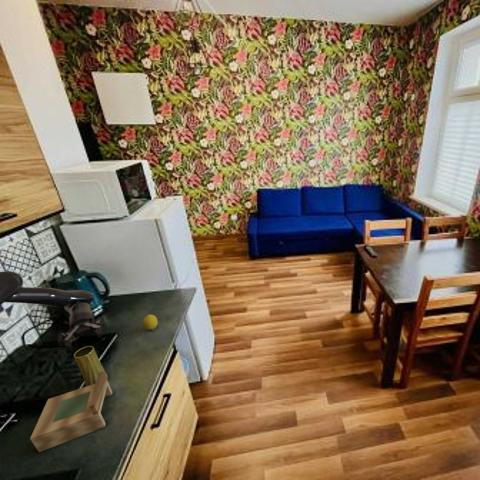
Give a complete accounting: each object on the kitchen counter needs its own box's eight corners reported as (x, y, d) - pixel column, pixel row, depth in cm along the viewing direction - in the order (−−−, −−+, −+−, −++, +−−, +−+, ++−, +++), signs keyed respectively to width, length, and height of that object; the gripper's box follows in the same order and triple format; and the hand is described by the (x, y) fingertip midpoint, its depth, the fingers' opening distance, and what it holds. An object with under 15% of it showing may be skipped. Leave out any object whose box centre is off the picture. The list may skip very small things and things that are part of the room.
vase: (84, 383, 94) (69, 353, 89) (104, 371, 99) (91, 342, 94) (90, 392, 91) (75, 361, 86) (111, 379, 96) (98, 349, 90)
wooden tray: (39, 452, 74) (23, 429, 70) (55, 412, 85) (42, 390, 81) (104, 426, 81) (93, 404, 77) (112, 392, 91) (103, 371, 88)
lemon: (143, 329, 120) (138, 315, 117) (156, 323, 124) (152, 309, 120) (148, 335, 116) (143, 321, 113) (161, 328, 120) (157, 314, 117)
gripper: (55, 320, 103) (54, 343, 92) (100, 305, 112) (105, 324, 101) (62, 335, 106) (63, 359, 95) (106, 319, 115) (111, 339, 104)
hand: (84, 341), depth 98 cm, fingers open, 8 cm apart
